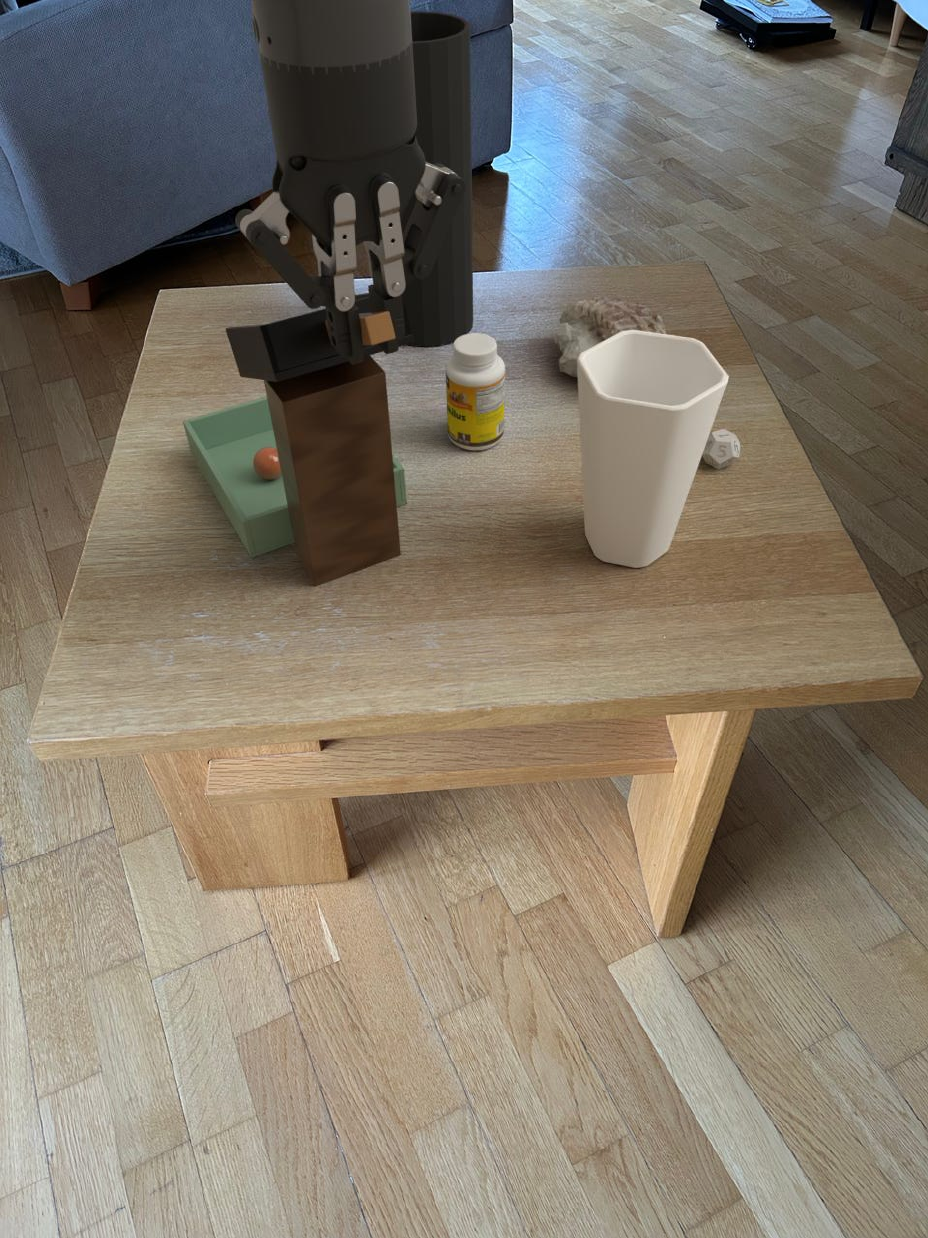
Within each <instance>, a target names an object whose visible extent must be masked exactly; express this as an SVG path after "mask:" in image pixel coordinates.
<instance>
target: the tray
mask: <svg viewBox="0 0 928 1238" xmlns="http://www.w3.org/2000/svg"><path fill="white" fill-rule="evenodd" d="M182 425H183V428H184V432H185V436H186V439H187V444H188V447H189V450H190V453H191V456H192V458H193V460H194V462H195V464H196V465H197V468H198V469H199V471H200V472H201V474H202V475H203V477H204V479H205V481H206V483H207V484H208V486H209V487H210V490H211V491H212V493H213V495H214V497H215V498H216V500H217V502H218V504H219V505H220V507H221V508H222V511H223V512H224V514H225V516H226V517H227V519H228V521H229V523H230V524H231V527H232V528H233V529H234V531H235V533H236V534H237V536H238V539H239V540H240V541H241V544H242V545H243V547H244V548H245V550H246V552H247V554H248V555H249V557H250V558H255V557H257V556H260V555H263V554H267V553H269V552H272V551H275V550H277V549H281V548H284V547H287V546H289V545H292V544H295V542H294V536H293V531H292V526H291V521H290V515H289V510H288V505H287V500H286V494H285V489H284V484H283V479H282V475H281V476H280V477H278V478H276V479H273V480H267V479H264V478H262V477H260V476H259V475H258V474H257V473H256V472H255V470H254V467H253V459H254V456H255V454H256V453H257V452H258V451H259V450H260V449H262V448H265V447H273V448H276V449H277V447H276V442H275V437H274V431H273V426H272V421H271V416H270V410H269V405H268V400H267V395H266V396H263V397H259V398H257V399H252V400H250V401H246V402H242V403H240V404H236V405H233V406H229V407H226V408H222V409H219V410H215V411H212V412H209V413H205V414H202V415H198V416H194V417H191V418H188V419H184V420H183V421H182ZM392 456H393V468H394V480H395V492H396V503H397V508H398V507H401V506H404V505H407V504H408V501H407V486H406V475H405V474H406V473H405V468H404V466H403V465H402V463H401V462H400V461H399V460H398V459H397V458H396V457H395V456H394V454H393V453H392Z"/></svg>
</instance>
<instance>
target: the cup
mask: <svg viewBox="0 0 928 1238" xmlns="http://www.w3.org/2000/svg"><path fill="white" fill-rule="evenodd" d="M577 373H578V377H577V393H578V395H577V396H578V416H579V434H580V435H579V437H580V456H581V457H580V459H581V475H582V477H581V478H582V500H583V501H582V502H583V521H584V536H585V538H586V540H587V542H588V544H589V546H590V549H591V551H592V553H593V555H594V557H596V558H597V559H599V560H600V561H602V562H604V563H610V564H613V565H620V566H623V567H629V568H634V569H638V568H645V567H648V566H649V565H651V564H653V562H655V561H656V560H658V559H659V558H661V557H662V556H663V555H665V554H666V553H667V552H669V550H670V548H671V544H672V541H673V538H674V536H675V533H676V530H677V527H678V524H679V522H680V518H681V516H682V513H683V510H684V507H685V504H686V502H687V499H688V496H689V493H690V490H691V488H692V484H693V482H694V479H695V476H696V473H697V472H698V468H699V465H700V463H701V459H702V454H703V451H704V448H705V445H706V442H707V439H708V437H709V434H710V433H711V432H712V428H713V426H714V422H715V419H716V416H717V414H718V411H719V408H720V405H721V402H722V400H723V396H724V394H725V391H726V388H727V385H728V382H729V378H730V376H729V374H728V373H727V372H726V371H725V369H724V368H723V366H722V365H721V364H720V363H719V361H718V360H717V359H716V358H715V356H714V355H713V354H712V352H711V351H710V350H709V348H708V347H707V345H705V343H704V342H702V341H700V340H698V339H697V338H693V337H687V336H680V335H674V334H673V335H672V334H667V333H666V334H660V333H653V332H646V331H639V330H627V331H622V332H620V333H618V334H616V335H614V336H612V337H610V338H608V339H607V340H605V341H603V342H601V343H599V344H597V345H595V346H593V347H592V348H590V349H588V350H586V351H584V352H582V353H581V354H579V357H578V359H577Z"/></svg>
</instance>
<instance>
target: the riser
mask: <svg viewBox="0 0 928 1238" xmlns="http://www.w3.org/2000/svg"><path fill="white" fill-rule="evenodd" d="M263 385H264V389H265V390H264V391H265V395H266V396H267V400H268V405H269V410H270V416H271V421H272V426H273V431H274V437H275V442H276V447H277V452H278V458H279V463H280V468H281V473H282V479H283V484H284V489H285V494H286V500H287V505H288V510H289V515H290V521H291V526H292V531H293V536H294V542H295V543H294V546H295V552H296V556H297V560H298V561H299V563H300V564H301V566H302V568H303V570H304V571H305V572H306V574H307V576H308V577H309V579H310V581H311V582H312V583H313V585H314V586H315V587H316V586H319V585H322V584H325V583H328V582H329V581H330V582H331V581H333V580H336V579H340V578H341V577H344V576H346V575H349V574H353V573H355V572H358V571H360V570H363V569H365V568H368V567H371V566H374V565H376V564H379V563H382V562H385V561H387V560H390V559H393V558H395V557H398V556H401V555H402V552H401V540H400V538H401V537H400V531H399V529H400V528H399V517H398V507H397V503H396V492H395V480H394V468H393V456H394V455H393V456H392V454H393V447H392V446H393V445H392V436H391V435H392V434H391V423H390V411H389V400H388V399H389V397H388V388H387V376H386V371H385V370H384V369H383V368H382V367H381V365H379V364H378V362H377V361H376V360H375V359H374V358H373V357H372V355H369V356H366V357H364V362H361V363H357V364H354V365H352V364H351V363H350V362H345V363H342V364H338V365H335V366H331V367H328V368H324V369H321V370H317V371H314V372H311V373H307V374H304V375H300V376H297V377H293V378H290V379H286V380H283V381H279V382H274V381H266V380H263Z"/></svg>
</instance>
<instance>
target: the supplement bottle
mask: <svg viewBox="0 0 928 1238" xmlns="http://www.w3.org/2000/svg"><path fill="white" fill-rule="evenodd" d="M497 347H498V345H497V341H496V340H495V339H494V337H492V336H490V335H488V334H485V333H479V332H471V333H467V334H465V335H462V336H460V337H458V338H457V339H456V340H455V342H453V351H452V356H450V357H449V358H448V360H447V362H446V364H445V384H446V385H445V392H446V393H445V394H446V423H447V436H448V438H449V439H450V441H451V442H452V443H453V444H454V445H456V446H457V447H459V448H461V449H464V450H468V451H484V450H487V449H491V448H493V447H495V446H496V445H498V444H499V442H500V441H501V440H502V439H503V438H504V432H505V408H506V407H505V401H506V365H505V364H506V363H505V362H504V360H503V358H502V357H500V355H498V350H497V349H498V348H497Z"/></svg>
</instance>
